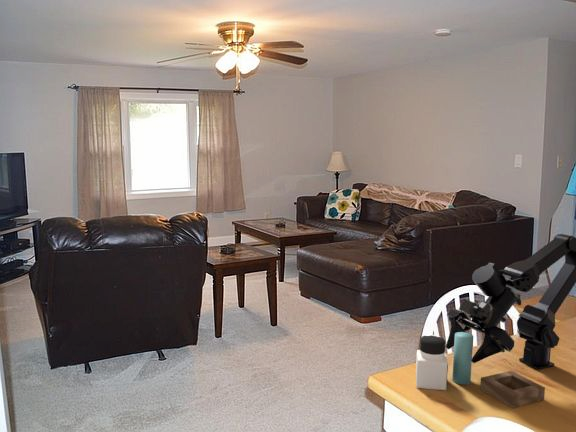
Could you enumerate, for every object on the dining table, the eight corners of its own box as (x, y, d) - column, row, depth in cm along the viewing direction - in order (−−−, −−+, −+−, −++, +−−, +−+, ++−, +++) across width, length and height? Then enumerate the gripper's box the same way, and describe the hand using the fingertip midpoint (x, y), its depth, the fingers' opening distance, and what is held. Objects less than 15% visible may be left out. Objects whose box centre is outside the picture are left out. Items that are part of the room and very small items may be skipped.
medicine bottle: (446, 391, 130) (449, 343, 129) (416, 388, 132) (418, 341, 130) (444, 378, 137) (446, 333, 135) (415, 375, 139) (417, 331, 137)
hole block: (510, 381, 135) (511, 370, 135) (544, 399, 126) (545, 387, 126) (480, 389, 131) (480, 377, 131) (512, 408, 122) (513, 395, 122)
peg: (462, 375, 139) (464, 331, 137) (474, 382, 135) (477, 337, 133) (448, 378, 137) (451, 333, 135) (460, 385, 133) (463, 339, 131)
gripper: (454, 278, 143) (418, 324, 140) (509, 298, 126) (469, 350, 123) (475, 303, 147) (441, 348, 144) (531, 326, 130) (493, 377, 127)
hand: (459, 355), depth 134 cm, fingers open, 9 cm apart
